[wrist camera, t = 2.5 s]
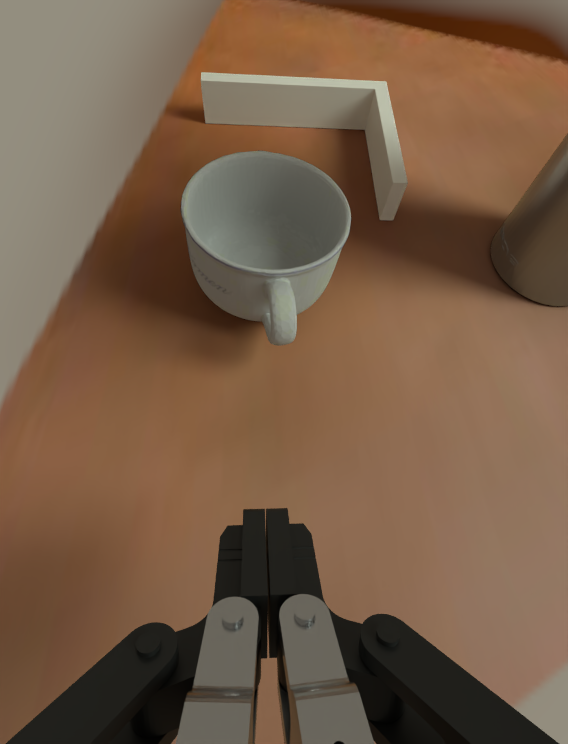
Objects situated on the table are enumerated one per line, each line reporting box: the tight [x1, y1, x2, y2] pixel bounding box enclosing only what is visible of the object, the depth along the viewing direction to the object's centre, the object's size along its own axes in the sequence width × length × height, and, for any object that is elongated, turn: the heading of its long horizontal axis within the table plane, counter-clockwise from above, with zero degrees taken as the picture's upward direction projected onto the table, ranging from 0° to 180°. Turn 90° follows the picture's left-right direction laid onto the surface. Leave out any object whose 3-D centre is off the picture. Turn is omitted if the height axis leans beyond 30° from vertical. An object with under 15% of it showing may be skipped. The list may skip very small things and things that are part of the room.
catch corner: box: [201, 72, 408, 221], centre depth 38 cm, size 17×13×4 cm
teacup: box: [181, 151, 351, 345], centre depth 30 cm, size 14×11×8 cm
